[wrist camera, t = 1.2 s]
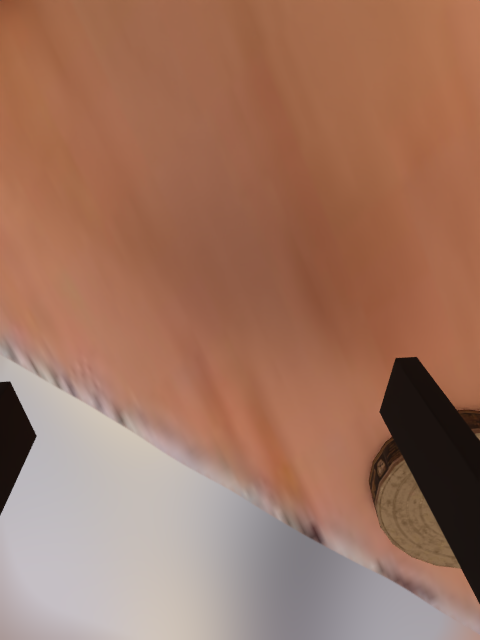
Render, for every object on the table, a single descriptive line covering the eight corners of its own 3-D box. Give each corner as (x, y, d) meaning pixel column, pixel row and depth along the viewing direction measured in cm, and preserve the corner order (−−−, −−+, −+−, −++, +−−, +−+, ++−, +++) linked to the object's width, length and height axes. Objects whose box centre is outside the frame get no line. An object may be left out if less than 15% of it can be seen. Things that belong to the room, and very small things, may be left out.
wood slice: (587, 432, 31) (616, 457, 28) (501, 554, 37) (518, 584, 35) (402, 392, 32) (413, 413, 29) (348, 519, 38) (353, 546, 35)
